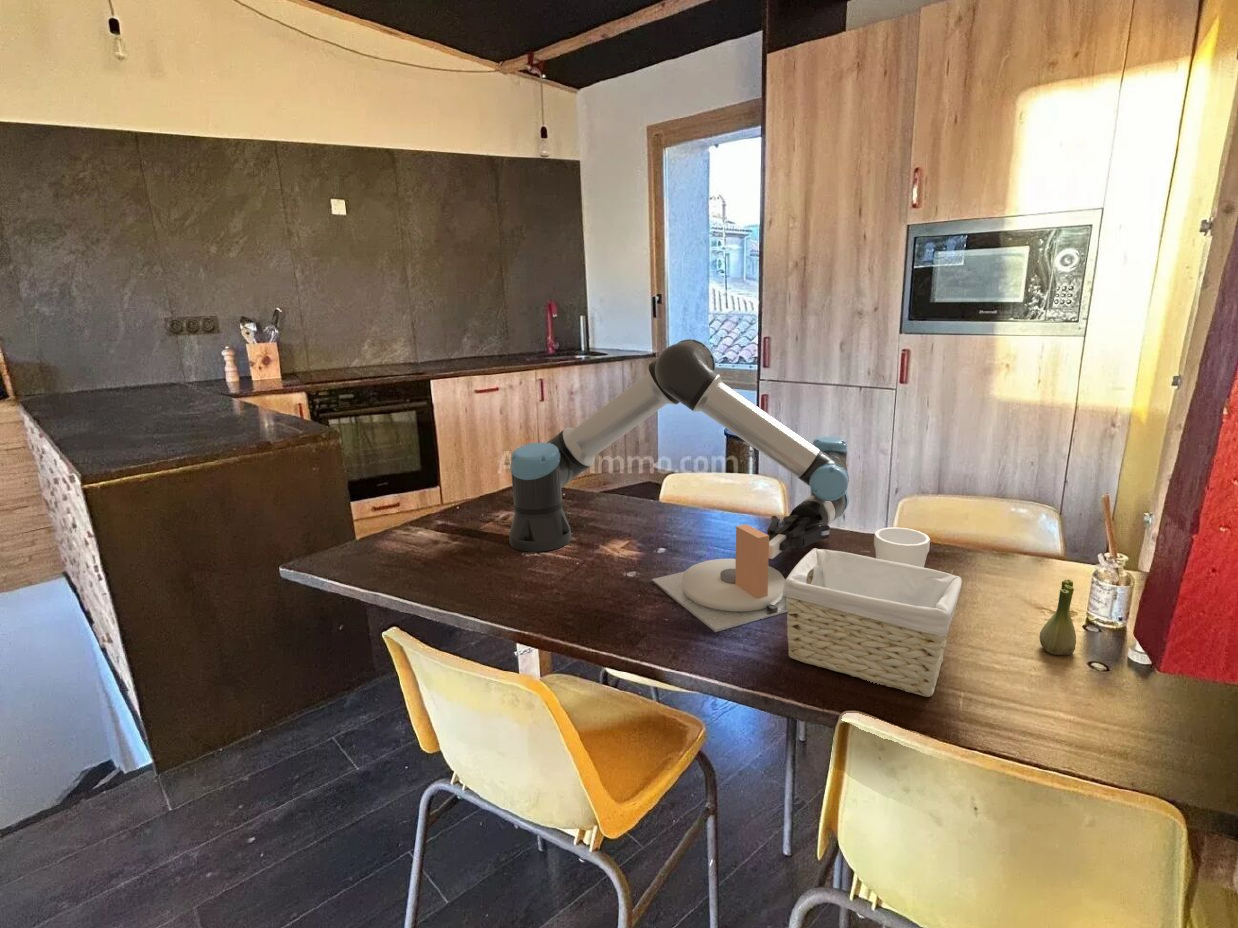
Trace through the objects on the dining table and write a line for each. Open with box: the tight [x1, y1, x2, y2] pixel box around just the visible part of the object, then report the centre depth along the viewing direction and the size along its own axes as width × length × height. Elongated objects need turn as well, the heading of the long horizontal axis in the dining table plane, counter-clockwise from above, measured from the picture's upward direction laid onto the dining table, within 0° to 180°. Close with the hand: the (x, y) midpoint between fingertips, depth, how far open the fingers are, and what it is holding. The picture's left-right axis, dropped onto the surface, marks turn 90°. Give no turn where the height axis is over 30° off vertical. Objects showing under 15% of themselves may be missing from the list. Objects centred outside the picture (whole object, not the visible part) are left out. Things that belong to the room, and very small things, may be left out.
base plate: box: [651, 571, 787, 633], centre depth 131 cm, size 24×24×1 cm
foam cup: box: [873, 526, 931, 568], centre depth 123 cm, size 10×9×13 cm
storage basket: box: [783, 547, 963, 698], centre depth 104 cm, size 24×16×15 cm
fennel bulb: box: [1039, 578, 1077, 656], centre depth 105 cm, size 6×5×12 cm
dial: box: [683, 523, 786, 611], centre depth 129 cm, size 20×20×14 cm
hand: (769, 551), depth 126 cm, fingers closed
